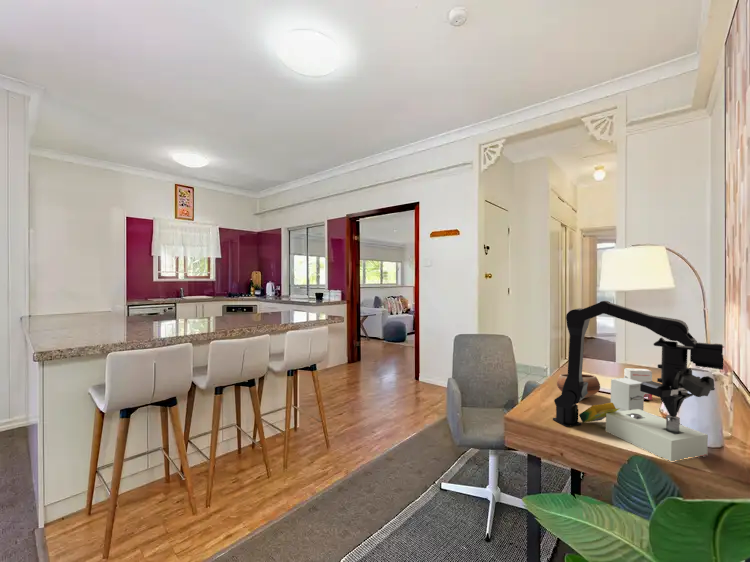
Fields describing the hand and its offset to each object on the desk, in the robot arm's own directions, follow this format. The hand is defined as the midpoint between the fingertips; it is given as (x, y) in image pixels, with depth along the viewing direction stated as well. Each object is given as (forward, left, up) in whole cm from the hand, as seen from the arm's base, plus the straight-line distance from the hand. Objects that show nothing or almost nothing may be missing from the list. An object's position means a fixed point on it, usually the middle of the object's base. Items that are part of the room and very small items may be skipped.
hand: (672, 416), depth 103 cm
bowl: (+11, +44, -10) cm, 47 cm away
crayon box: (-5, +23, -9) cm, 26 cm away
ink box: (+35, +37, -10) cm, 52 cm away
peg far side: (0, 0, -6) cm, 6 cm away
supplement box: (+13, +24, -10) cm, 30 cm away
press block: (0, +5, -10) cm, 12 cm away
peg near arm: (0, +11, -10) cm, 15 cm away
